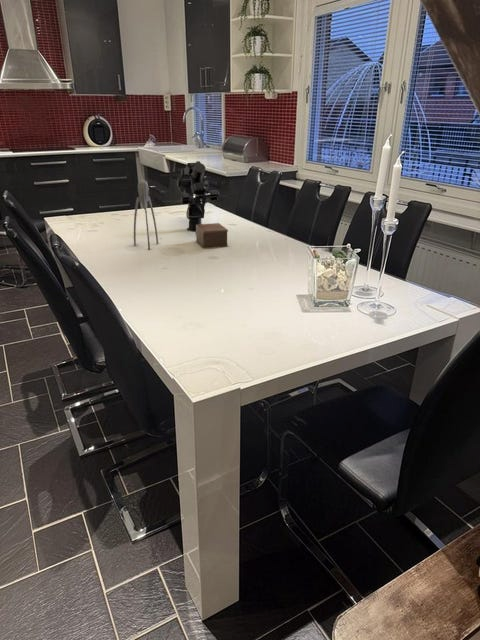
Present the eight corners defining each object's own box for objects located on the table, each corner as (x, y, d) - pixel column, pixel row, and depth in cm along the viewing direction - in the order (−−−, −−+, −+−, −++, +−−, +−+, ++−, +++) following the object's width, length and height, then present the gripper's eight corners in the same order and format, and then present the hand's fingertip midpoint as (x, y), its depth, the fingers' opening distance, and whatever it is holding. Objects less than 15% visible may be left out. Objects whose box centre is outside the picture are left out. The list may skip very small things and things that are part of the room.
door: (227, 231, 217) (227, 229, 216) (203, 233, 213) (203, 231, 213) (218, 224, 229) (218, 223, 229) (195, 226, 225) (195, 224, 225)
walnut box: (227, 246, 220) (227, 231, 217) (203, 248, 217) (203, 232, 214) (218, 239, 232) (218, 224, 229) (196, 241, 228) (195, 226, 226)
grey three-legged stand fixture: (149, 249, 213) (144, 182, 201) (129, 248, 215) (123, 181, 203) (158, 243, 223) (154, 178, 211) (139, 242, 225) (133, 177, 213)
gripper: (179, 177, 226) (184, 205, 221) (216, 173, 229) (223, 200, 225) (178, 190, 236) (184, 217, 232) (215, 186, 240) (221, 212, 235)
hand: (203, 211), depth 231 cm, fingers closed
